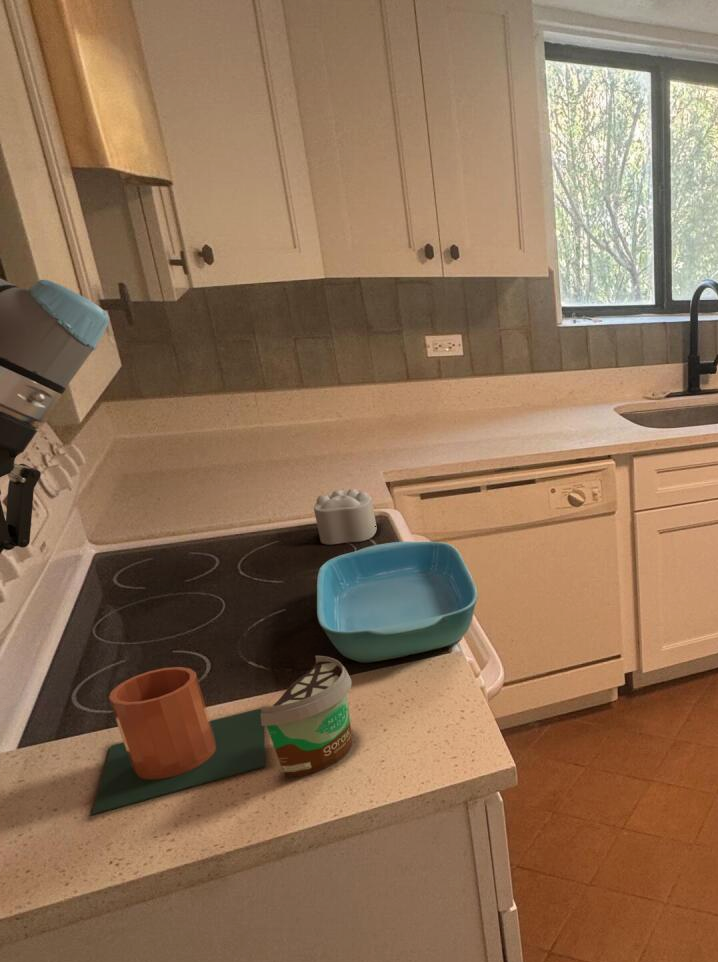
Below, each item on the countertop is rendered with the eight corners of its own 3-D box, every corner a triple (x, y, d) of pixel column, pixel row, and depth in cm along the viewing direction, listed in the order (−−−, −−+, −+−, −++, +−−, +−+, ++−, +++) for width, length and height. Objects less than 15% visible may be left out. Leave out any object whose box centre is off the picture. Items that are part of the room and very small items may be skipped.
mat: (111, 747, 95) (110, 745, 95) (263, 709, 103) (263, 707, 102) (92, 815, 84) (91, 813, 84) (265, 766, 91) (264, 765, 91)
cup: (138, 750, 94) (114, 678, 90) (217, 730, 98) (197, 660, 94) (130, 788, 87) (104, 712, 84) (215, 765, 91) (193, 691, 88)
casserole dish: (494, 652, 116) (489, 609, 114) (327, 690, 107) (316, 643, 104) (456, 567, 147) (451, 531, 144) (323, 590, 137) (315, 553, 135)
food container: (331, 786, 88) (313, 710, 84) (277, 785, 88) (257, 709, 85) (381, 722, 100) (367, 653, 96) (333, 722, 100) (317, 653, 96)
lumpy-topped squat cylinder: (316, 545, 157) (308, 505, 154) (327, 525, 169) (319, 486, 166) (373, 540, 160) (365, 499, 157) (380, 519, 172) (373, 482, 169)
